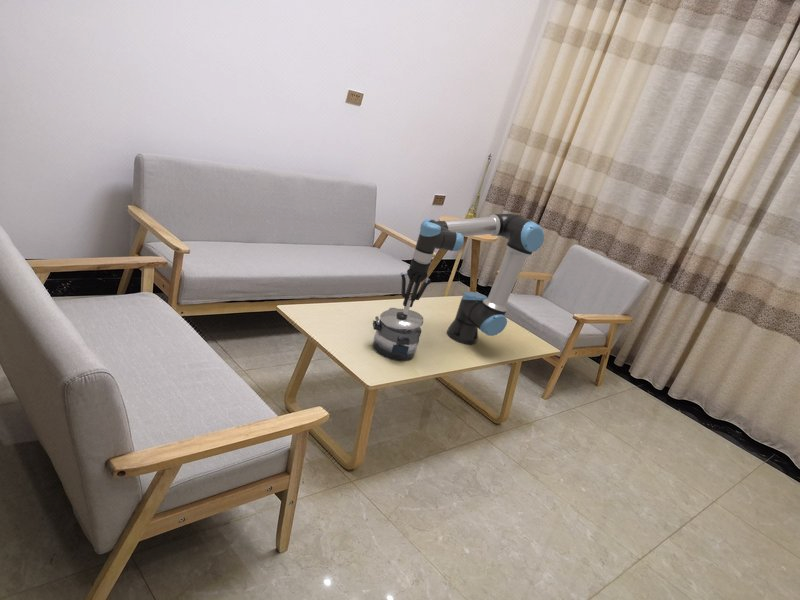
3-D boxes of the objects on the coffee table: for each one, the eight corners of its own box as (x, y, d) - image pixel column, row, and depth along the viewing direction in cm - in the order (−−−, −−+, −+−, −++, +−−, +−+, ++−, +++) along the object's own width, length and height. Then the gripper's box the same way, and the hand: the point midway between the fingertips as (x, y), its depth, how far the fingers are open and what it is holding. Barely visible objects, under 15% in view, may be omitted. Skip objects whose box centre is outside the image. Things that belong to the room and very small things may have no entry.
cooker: (409, 341, 243) (416, 317, 239) (419, 367, 222) (427, 341, 218) (365, 333, 238) (371, 308, 234) (370, 359, 217) (378, 333, 213)
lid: (418, 313, 235) (419, 305, 234) (426, 331, 219) (427, 323, 218) (373, 313, 232) (373, 305, 231) (378, 332, 216) (379, 323, 214)
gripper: (434, 261, 221) (418, 312, 229) (404, 254, 218) (388, 306, 226) (438, 267, 214) (421, 320, 222) (407, 260, 211) (391, 314, 219)
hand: (405, 313), depth 224 cm, fingers closed
